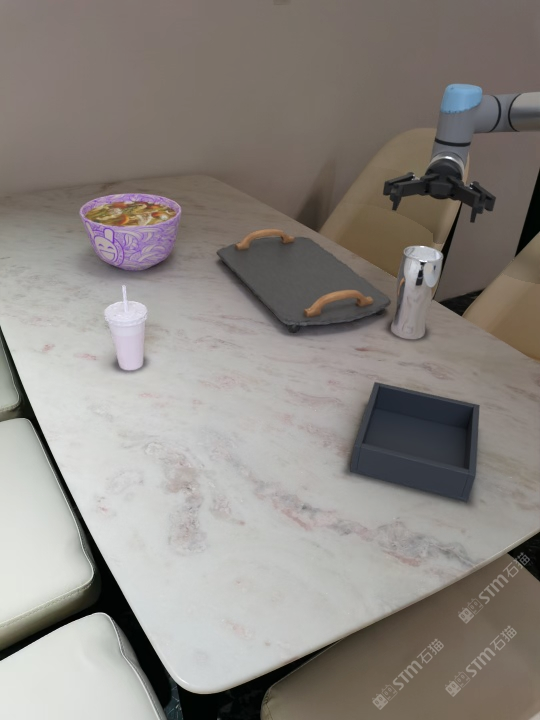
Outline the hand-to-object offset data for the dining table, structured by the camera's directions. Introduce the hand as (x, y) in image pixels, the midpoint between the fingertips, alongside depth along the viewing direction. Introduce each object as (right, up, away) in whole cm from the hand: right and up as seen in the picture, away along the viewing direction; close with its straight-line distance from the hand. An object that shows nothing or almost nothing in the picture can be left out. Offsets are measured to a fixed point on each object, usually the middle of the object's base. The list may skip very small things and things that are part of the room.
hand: (434, 209), depth 104 cm
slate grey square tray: (-9, -39, -24) cm, 46 cm away
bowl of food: (-57, -6, +22) cm, 61 cm away
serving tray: (-23, -12, +16) cm, 30 cm away
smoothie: (-51, -27, -10) cm, 58 cm away
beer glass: (-4, -21, +3) cm, 22 cm away
